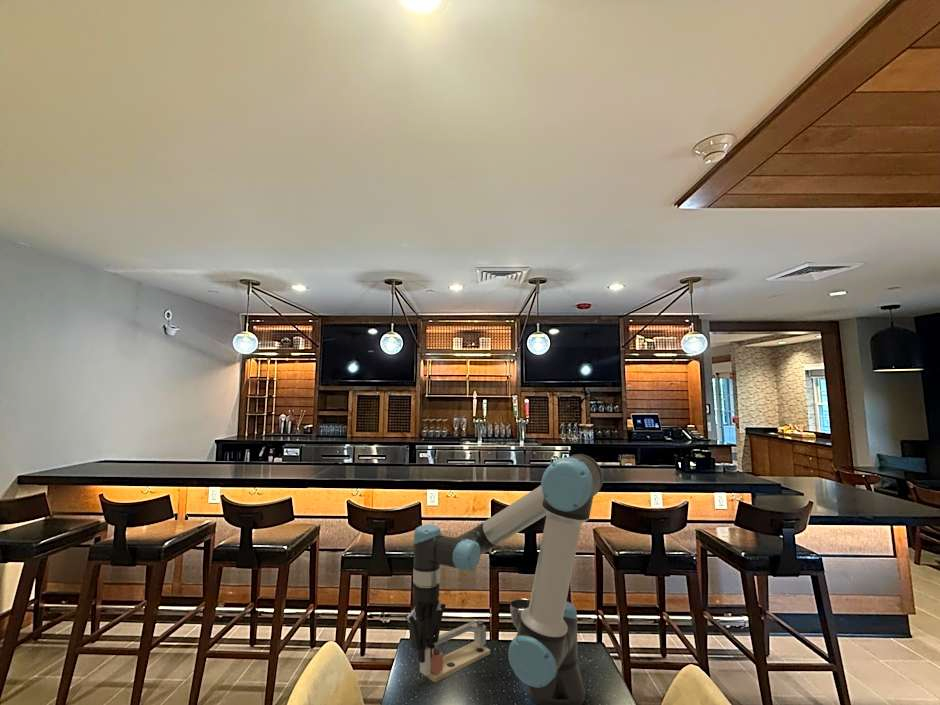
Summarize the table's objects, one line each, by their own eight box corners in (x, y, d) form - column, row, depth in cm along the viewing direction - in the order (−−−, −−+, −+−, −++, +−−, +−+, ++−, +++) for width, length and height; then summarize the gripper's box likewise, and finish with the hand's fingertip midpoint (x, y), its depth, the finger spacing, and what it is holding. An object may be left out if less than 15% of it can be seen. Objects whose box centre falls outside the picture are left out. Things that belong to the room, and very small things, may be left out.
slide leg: (442, 671, 129) (443, 646, 129) (435, 674, 127) (436, 650, 128) (425, 659, 134) (426, 636, 135) (418, 662, 133) (419, 639, 133)
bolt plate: (490, 653, 141) (490, 649, 141) (435, 682, 126) (435, 678, 126) (474, 645, 146) (474, 641, 146) (419, 671, 131) (419, 667, 131)
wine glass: (535, 649, 144) (535, 599, 145) (537, 663, 136) (536, 610, 138) (510, 647, 144) (510, 598, 146) (510, 661, 137) (510, 608, 138)
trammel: (485, 650, 141) (486, 622, 142) (435, 676, 127) (435, 644, 128) (472, 642, 145) (472, 615, 146) (421, 667, 131) (422, 636, 132)
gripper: (435, 574, 136) (434, 658, 133) (399, 585, 127) (397, 676, 124) (452, 580, 131) (451, 669, 128) (415, 593, 122) (414, 688, 119)
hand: (424, 672), depth 126 cm, fingers closed
